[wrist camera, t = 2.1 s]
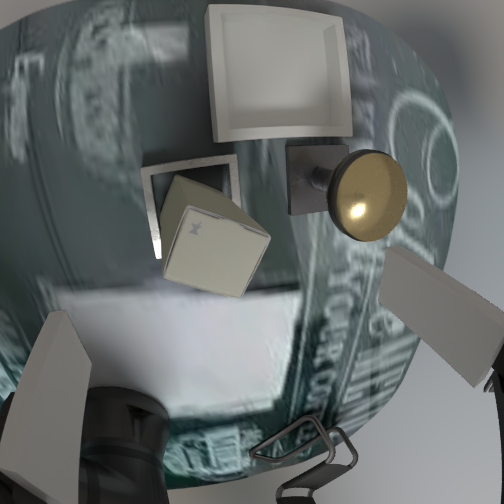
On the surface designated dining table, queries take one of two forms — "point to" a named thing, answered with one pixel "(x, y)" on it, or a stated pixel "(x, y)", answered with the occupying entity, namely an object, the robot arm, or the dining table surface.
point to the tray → (276, 73)
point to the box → (208, 239)
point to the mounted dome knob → (347, 188)
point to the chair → (315, 475)
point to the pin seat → (180, 165)
